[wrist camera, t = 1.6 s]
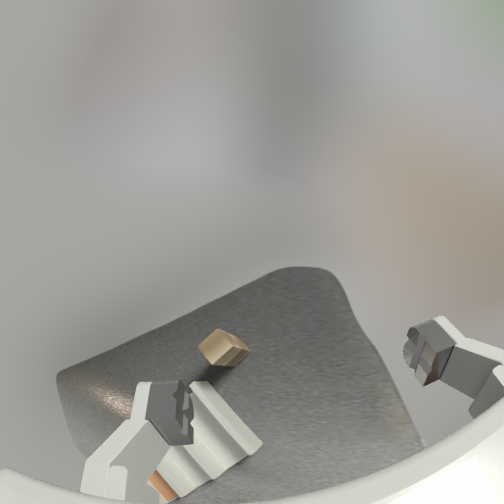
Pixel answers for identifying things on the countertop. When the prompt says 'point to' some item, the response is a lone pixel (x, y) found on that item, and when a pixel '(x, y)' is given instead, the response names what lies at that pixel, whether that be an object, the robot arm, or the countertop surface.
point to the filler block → (223, 349)
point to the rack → (204, 446)
